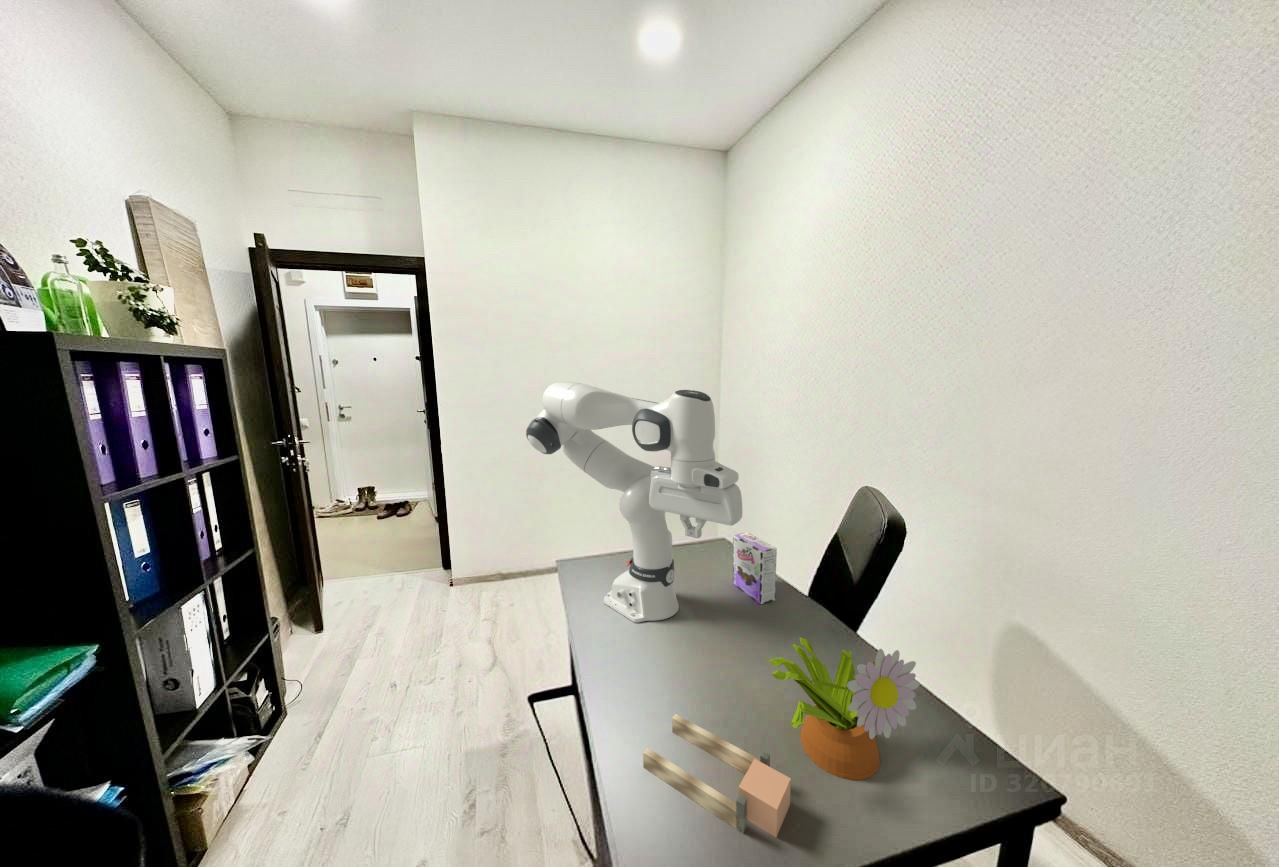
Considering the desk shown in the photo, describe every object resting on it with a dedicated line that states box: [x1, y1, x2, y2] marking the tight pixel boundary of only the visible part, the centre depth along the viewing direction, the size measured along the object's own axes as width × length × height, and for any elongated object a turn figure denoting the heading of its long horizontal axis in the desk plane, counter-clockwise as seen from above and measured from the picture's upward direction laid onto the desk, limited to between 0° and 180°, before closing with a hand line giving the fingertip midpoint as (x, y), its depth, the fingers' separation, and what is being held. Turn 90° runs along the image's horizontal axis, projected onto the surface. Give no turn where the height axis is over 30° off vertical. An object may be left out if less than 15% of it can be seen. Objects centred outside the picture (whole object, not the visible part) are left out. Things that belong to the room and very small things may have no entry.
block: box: [738, 759, 792, 838], centre depth 69 cm, size 6×6×5 cm
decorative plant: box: [765, 637, 921, 781], centre depth 79 cm, size 27×24×25 cm
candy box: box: [732, 531, 778, 605], centre depth 132 cm, size 14×6×16 cm, turn 23°
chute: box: [642, 713, 771, 834], centre depth 75 cm, size 19×10×5 cm, turn 53°
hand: (693, 536), depth 91 cm, fingers closed
